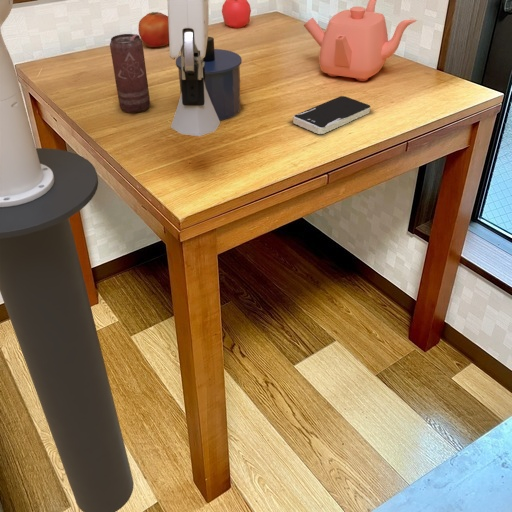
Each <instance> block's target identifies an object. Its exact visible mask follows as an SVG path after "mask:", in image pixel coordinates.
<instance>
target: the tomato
mask: <svg viewBox="0 0 512 512" xmlns="http://www.w3.org/2000/svg"><path fill="white" fill-rule="evenodd" d="M138 35H139V37H140V39H141V40H142V43H143V44H144V45H145V46H146V47H149V48H151V47H152V48H158V47H164V46H167V45H168V44H169V24H168V15H166V14H164V13H162V12H159V11H151V12H148V13H147V14H146V15H144V16H143V17H142V18H141V19H140V20H139V22H138Z"/></svg>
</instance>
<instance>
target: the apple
mask: <svg viewBox="0 0 512 512" xmlns="http://www.w3.org/2000/svg"><path fill="white" fill-rule="evenodd" d="M251 12H252V8H251V4H250V3H249V1H248V0H225V1H224V2H223V3H222V7H221V14H222V19H223V22H224V24H225V25H227V26H228V27H230V28H232V29H241V28H244V27H245V26H246V25H248V23H250V19H251Z"/></svg>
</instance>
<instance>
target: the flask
mask: <svg viewBox="0 0 512 512" xmlns="http://www.w3.org/2000/svg"><path fill="white" fill-rule="evenodd" d="M194 64H195V65H197V62H194ZM204 64H205V62H203V61H201V71H202V78H203V66H204ZM204 101H205V102H204V105H203V106H185V105H183V104H182V92H180V96H179V100H178V103H177V105H176V106H177V107H176V110H175V113H174V116H173V118H172V121H171V125H170V128H171V129H173V130H174V131H176V132H177V133H179V134H180V135H187V136H195V137H202V136H205V135H207V134H210V133H211V134H212V133H213V132H214V133H215V132H216V131H217V129H218V128H219V126H220V125H221V120H220V121H219V118H218V116H217V114H216V112H215V109H214V107H213V105H212V102H211V100H210V97H209V95H208V92H207V90H206V87H205V83H204Z"/></svg>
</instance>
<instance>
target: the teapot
mask: <svg viewBox="0 0 512 512" xmlns="http://www.w3.org/2000/svg"><path fill="white" fill-rule="evenodd" d="M376 4H377V0H369V1H368V3H367V5H366V7H363V6H352V7H350V8H349V9H344V10H341V11H339V12H337V13H335V14H334V15H333V16H331V18H330V19H329V21H328V23H327V26H326V29H325V31H324V30H323V29H322V28H321V26H320V25H319V24H318V22H317V21H316V19H315V18H314V17H311V18H310V19H309V20H308V21H307V22H305V23H304V24H303V28H305V30H306V31H307V32H308V33H309V34H310V36H311V37H312V38H313V39H314V40H315V42H316V43H317V44H318V46H319V47H320V50H319V57H318V61H319V66H320V69H321V71H322V72H323V73H325V74H327V75H328V76H329V77H338V76H339V77H345V78H352V79H353V78H354V79H355V80H357V81H359V82H366V81H368V79H369V78H371V77H372V76H375V75H376V74H378V73H379V72H380V71H381V69H383V66H384V65H385V63H386V61H387V59H389V58H391V57H392V56H393V55H394V54H395V53H396V52H397V50H398V48H399V46H400V43H401V40H402V38H403V35H404V32H405V30H406V29H407V28H408V27H409V26H410V25H412V24H414V23H415V22H417V21H418V20H417V19H404V20H401V21H400V22H399V23H398V24H397V25H396V28H395V29H394V33H393V36H392V37H391V38H390V39H389V38H388V37H389V36H388V35H389V34H388V28H387V22H386V17H385V15H384V14H383V13H379V12H376V11H375V9H376Z"/></svg>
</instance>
